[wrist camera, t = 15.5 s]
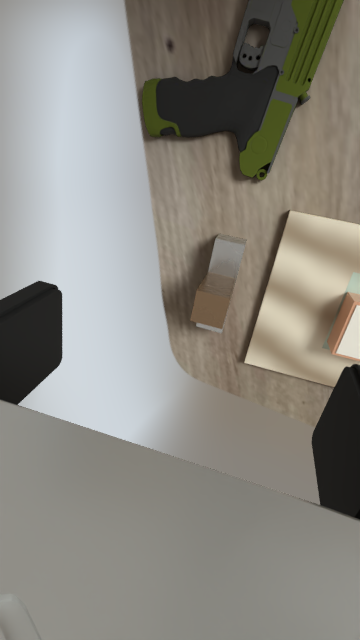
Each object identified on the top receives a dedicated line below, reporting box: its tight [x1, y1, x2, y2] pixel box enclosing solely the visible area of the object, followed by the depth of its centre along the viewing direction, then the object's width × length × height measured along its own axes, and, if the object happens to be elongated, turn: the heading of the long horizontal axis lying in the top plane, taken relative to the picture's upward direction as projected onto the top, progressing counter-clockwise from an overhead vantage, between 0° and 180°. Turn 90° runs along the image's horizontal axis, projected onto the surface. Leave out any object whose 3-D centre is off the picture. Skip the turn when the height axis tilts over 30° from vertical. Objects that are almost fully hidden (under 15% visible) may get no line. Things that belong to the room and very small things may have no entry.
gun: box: [142, 0, 343, 180], centre depth 29 cm, size 2×19×15 cm
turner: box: [190, 234, 247, 333], centre depth 34 cm, size 10×3×10 cm, turn 169°
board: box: [244, 210, 360, 387], centre depth 36 cm, size 18×14×1 cm
